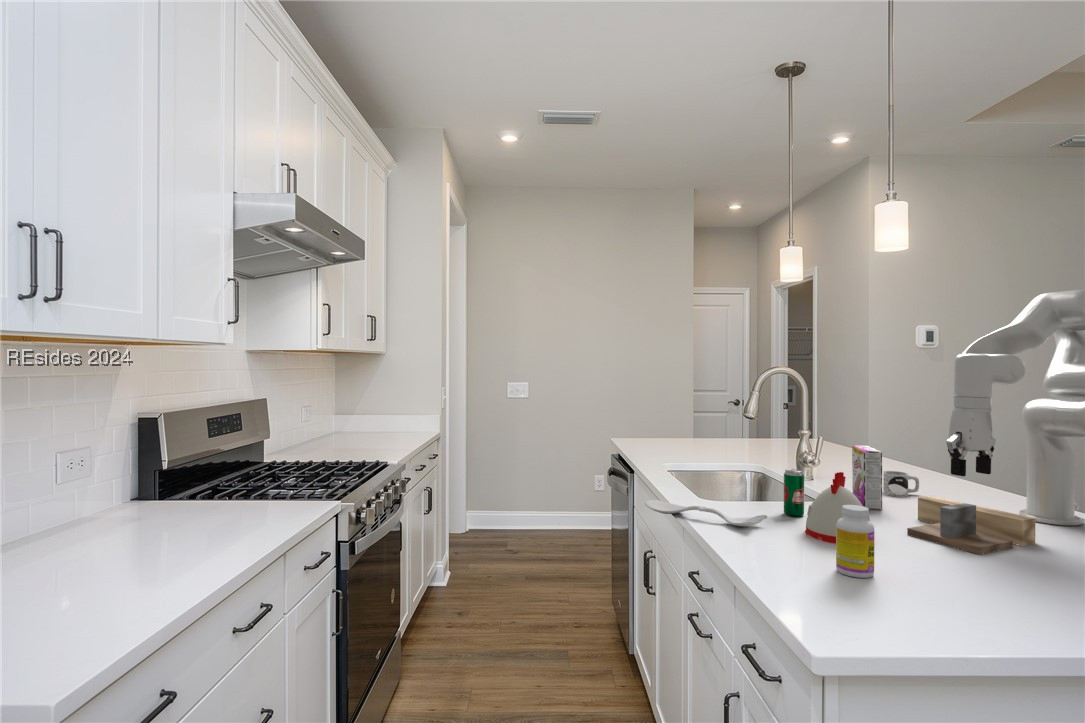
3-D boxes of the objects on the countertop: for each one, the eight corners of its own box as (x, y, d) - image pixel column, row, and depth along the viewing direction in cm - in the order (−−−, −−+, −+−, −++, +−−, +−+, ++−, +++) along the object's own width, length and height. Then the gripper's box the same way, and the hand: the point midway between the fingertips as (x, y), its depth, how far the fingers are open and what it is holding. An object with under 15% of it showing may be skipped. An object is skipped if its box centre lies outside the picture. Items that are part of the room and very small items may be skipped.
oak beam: (930, 518, 157) (930, 495, 157) (1035, 544, 135) (1035, 518, 135) (917, 520, 155) (917, 497, 155) (1022, 547, 133) (1022, 520, 133)
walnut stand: (939, 528, 146) (940, 496, 146) (1012, 547, 132) (1013, 511, 132) (907, 534, 142) (907, 501, 142) (979, 554, 127) (979, 517, 127)
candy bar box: (851, 500, 176) (851, 445, 176) (869, 500, 175) (869, 445, 175) (863, 509, 165) (863, 450, 165) (883, 510, 164) (883, 451, 164)
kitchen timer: (878, 535, 141) (878, 472, 141) (861, 549, 131) (861, 481, 131) (817, 524, 151) (817, 465, 151) (797, 536, 140) (797, 473, 140)
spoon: (753, 535, 142) (753, 521, 142) (638, 512, 163) (638, 499, 163) (767, 527, 149) (767, 513, 149) (655, 506, 170) (655, 494, 170)
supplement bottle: (873, 581, 112) (873, 513, 112) (834, 574, 115) (834, 508, 115) (875, 571, 117) (875, 506, 117) (838, 564, 121) (838, 501, 121)
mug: (888, 496, 181) (888, 474, 181) (879, 491, 188) (879, 470, 188) (924, 497, 180) (924, 475, 180) (914, 492, 186) (914, 471, 186)
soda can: (795, 518, 156) (795, 472, 156) (779, 514, 160) (779, 469, 160) (808, 516, 158) (808, 471, 158) (792, 511, 163) (792, 468, 163)
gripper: (977, 403, 152) (976, 470, 152) (933, 403, 145) (932, 473, 145) (1010, 405, 145) (1009, 475, 145) (966, 405, 138) (964, 479, 138)
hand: (970, 474), depth 145 cm, fingers open, 9 cm apart
